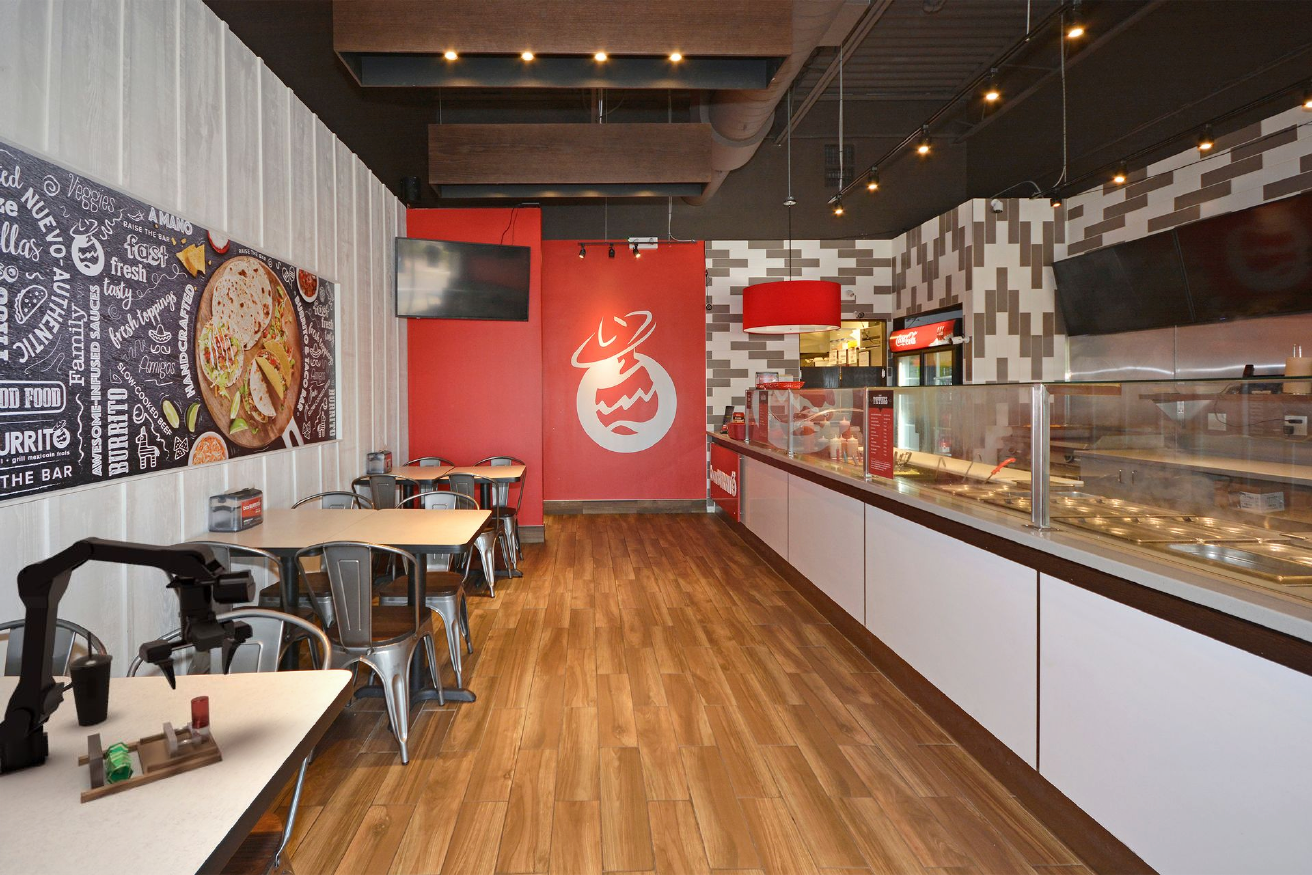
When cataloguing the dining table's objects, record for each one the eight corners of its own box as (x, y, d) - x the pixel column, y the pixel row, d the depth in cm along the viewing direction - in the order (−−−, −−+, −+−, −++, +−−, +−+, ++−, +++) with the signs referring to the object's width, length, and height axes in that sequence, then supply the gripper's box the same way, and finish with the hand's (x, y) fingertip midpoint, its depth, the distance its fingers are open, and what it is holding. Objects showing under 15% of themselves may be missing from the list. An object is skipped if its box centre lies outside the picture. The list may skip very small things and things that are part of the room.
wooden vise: (81, 803, 118) (79, 769, 118) (78, 763, 132) (76, 732, 131) (222, 760, 132) (221, 730, 132) (206, 728, 146) (205, 700, 145)
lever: (170, 759, 130) (168, 715, 129) (163, 740, 137) (162, 699, 137) (214, 746, 135) (212, 704, 134) (206, 728, 142) (204, 689, 142)
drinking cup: (124, 714, 153) (120, 626, 152) (93, 730, 145) (88, 638, 144) (93, 712, 153) (89, 625, 152) (60, 728, 146) (56, 637, 145)
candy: (138, 775, 126) (121, 761, 124) (119, 790, 124) (102, 777, 122) (133, 751, 135) (117, 738, 133) (115, 765, 133) (99, 752, 131)
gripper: (154, 626, 126) (158, 708, 127) (262, 602, 141) (265, 676, 142) (136, 615, 133) (140, 693, 134) (240, 593, 148) (243, 664, 148)
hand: (200, 681), depth 139 cm, fingers open, 9 cm apart
